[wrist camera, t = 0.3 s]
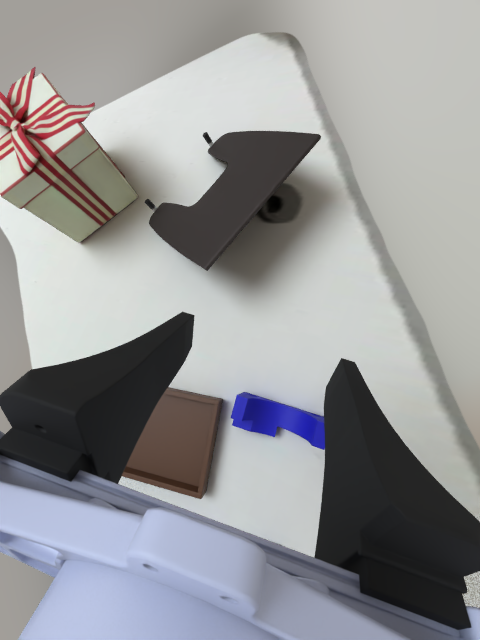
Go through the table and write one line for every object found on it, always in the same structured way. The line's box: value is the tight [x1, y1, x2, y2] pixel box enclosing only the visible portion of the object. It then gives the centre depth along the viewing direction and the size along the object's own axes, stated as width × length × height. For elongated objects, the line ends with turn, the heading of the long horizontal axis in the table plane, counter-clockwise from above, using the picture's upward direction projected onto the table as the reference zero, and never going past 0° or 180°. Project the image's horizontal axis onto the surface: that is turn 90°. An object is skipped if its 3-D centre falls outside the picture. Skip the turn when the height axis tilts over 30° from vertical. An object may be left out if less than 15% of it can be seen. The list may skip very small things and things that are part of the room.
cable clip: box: [231, 392, 325, 450], centre depth 38 cm, size 12×4×6 cm, turn 74°
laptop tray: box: [145, 131, 321, 271], centre depth 45 cm, size 23×23×9 cm
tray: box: [122, 388, 223, 499], centre depth 42 cm, size 13×16×2 cm
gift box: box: [0, 67, 138, 243], centre depth 46 cm, size 17×18×17 cm
